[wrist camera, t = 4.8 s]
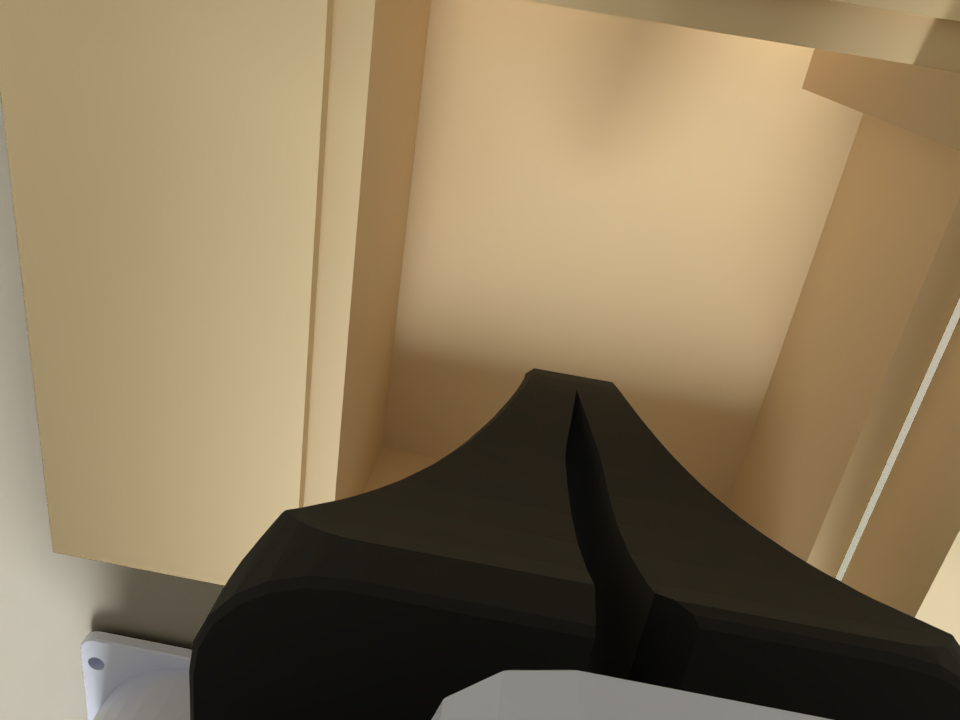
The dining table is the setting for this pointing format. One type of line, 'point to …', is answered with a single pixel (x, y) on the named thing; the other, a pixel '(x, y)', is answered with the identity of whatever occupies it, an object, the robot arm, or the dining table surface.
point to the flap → (920, 513)
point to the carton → (470, 246)
